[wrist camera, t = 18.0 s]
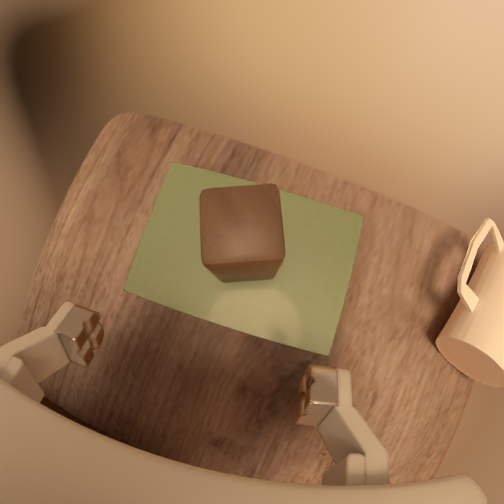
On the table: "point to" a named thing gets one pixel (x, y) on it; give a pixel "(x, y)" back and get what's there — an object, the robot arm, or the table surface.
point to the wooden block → (242, 232)
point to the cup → (478, 314)
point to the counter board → (249, 292)
